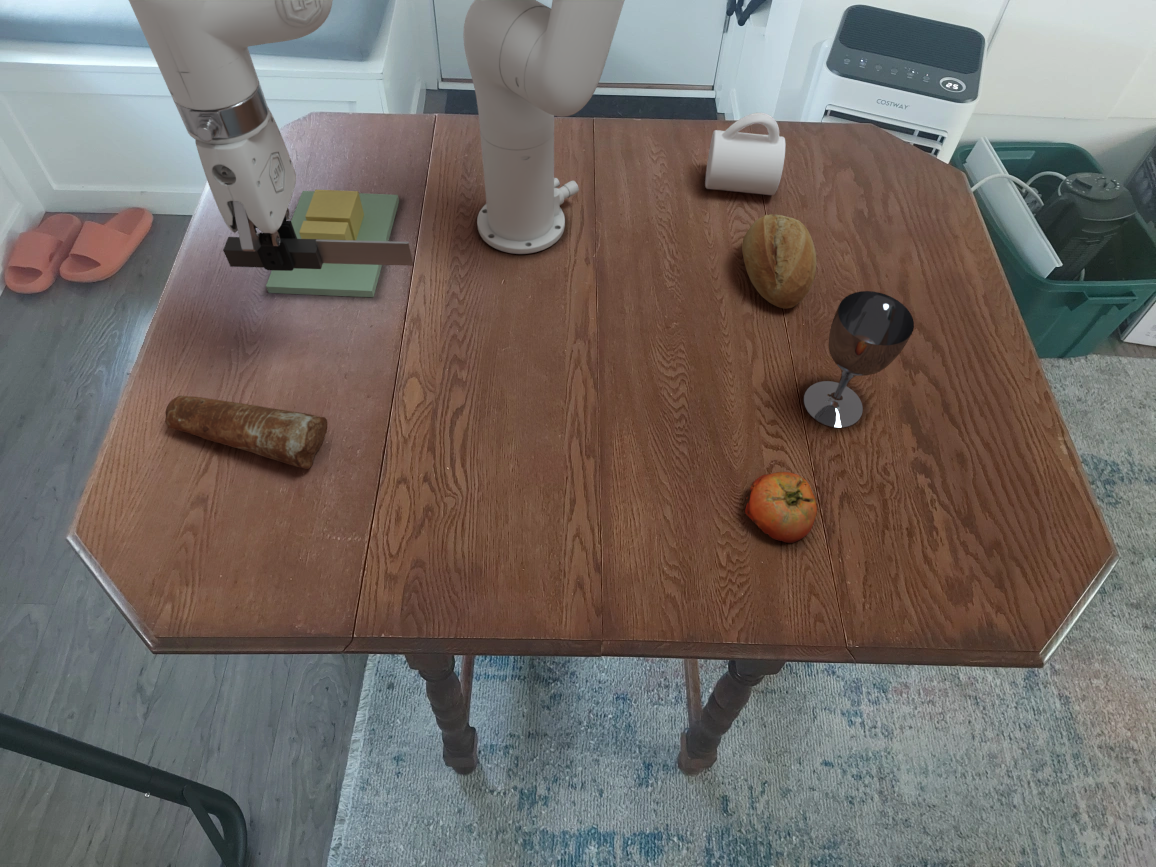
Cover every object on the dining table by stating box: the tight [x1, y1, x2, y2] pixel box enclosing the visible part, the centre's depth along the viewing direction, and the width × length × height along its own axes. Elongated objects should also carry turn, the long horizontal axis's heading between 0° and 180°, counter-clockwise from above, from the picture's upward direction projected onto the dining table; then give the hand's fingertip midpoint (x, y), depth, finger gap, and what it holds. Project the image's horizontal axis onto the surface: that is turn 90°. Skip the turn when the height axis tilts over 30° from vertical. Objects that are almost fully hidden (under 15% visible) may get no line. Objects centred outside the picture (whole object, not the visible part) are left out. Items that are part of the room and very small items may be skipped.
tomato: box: [744, 471, 818, 544], centre depth 82 cm, size 8×7×7 cm
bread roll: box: [741, 213, 817, 309], centre depth 101 cm, size 10×15×8 cm, turn 1°
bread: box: [165, 395, 328, 470], centre depth 85 cm, size 6×19×6 cm, turn 73°
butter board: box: [265, 189, 400, 298], centre depth 104 cm, size 20×14×5 cm
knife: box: [222, 236, 414, 269], centre depth 83 cm, size 20×2×3 cm, turn 90°
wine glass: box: [803, 290, 915, 429], centre depth 86 cm, size 8×8×15 cm
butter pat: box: [299, 221, 353, 240], centre depth 102 cm, size 2×6×4 cm, turn 88°
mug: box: [704, 112, 787, 196], centre depth 111 cm, size 8×10×12 cm
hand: (282, 258), depth 84 cm, fingers closed on knife, 2 cm apart
